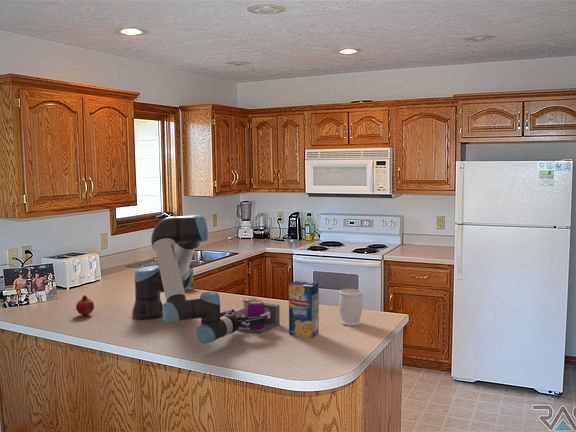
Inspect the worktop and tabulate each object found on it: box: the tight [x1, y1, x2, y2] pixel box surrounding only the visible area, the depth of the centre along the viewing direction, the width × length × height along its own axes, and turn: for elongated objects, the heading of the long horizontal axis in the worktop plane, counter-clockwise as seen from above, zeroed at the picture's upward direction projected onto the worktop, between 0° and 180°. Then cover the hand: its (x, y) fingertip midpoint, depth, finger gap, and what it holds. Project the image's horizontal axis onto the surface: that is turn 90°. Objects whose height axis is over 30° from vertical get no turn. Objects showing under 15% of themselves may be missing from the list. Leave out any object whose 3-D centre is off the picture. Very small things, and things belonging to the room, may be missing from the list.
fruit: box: [75, 295, 95, 317], centre depth 260 cm, size 8×8×10 cm
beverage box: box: [288, 280, 320, 339], centre depth 229 cm, size 7×11×22 cm, turn 61°
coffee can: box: [187, 262, 194, 290], centre depth 316 cm, size 10×10×14 cm
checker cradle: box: [237, 302, 281, 335], centre depth 240 cm, size 12×16×9 cm
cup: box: [242, 297, 257, 317], centre depth 257 cm, size 6×6×8 cm
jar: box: [338, 288, 364, 327], centre depth 244 cm, size 11×10×15 cm
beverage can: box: [247, 299, 266, 331], centre depth 238 cm, size 8×8×12 cm
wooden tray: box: [220, 309, 246, 322], centre depth 248 cm, size 13×14×3 cm
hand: (256, 312), depth 238 cm, fingers open, 13 cm apart
